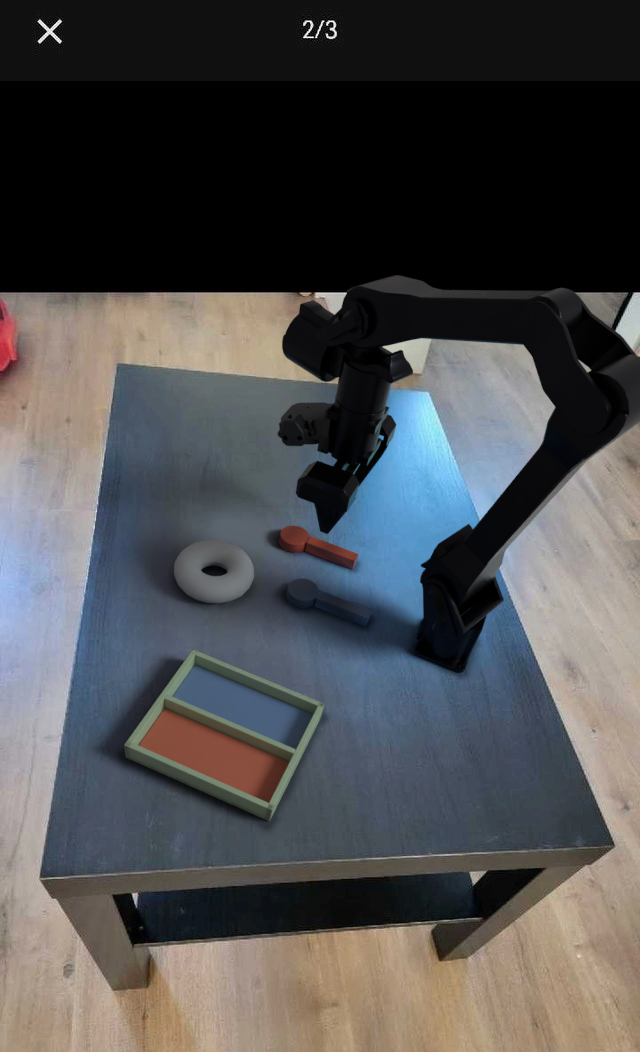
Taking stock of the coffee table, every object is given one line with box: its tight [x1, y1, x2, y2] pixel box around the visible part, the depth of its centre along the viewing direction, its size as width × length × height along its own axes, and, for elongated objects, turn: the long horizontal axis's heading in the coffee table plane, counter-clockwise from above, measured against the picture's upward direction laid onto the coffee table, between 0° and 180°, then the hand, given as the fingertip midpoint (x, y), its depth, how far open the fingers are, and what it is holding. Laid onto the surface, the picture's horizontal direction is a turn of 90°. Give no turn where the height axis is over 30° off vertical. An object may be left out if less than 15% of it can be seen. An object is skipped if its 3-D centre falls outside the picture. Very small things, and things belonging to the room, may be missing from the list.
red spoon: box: [278, 525, 359, 570], centre depth 93 cm, size 11×4×2 cm, turn 68°
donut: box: [173, 539, 255, 604], centre depth 86 cm, size 10×4×10 cm
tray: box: [123, 649, 325, 822], centre depth 72 cm, size 16×14×2 cm
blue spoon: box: [286, 577, 372, 627], centre depth 86 cm, size 11×4×2 cm, turn 68°
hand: (337, 511), depth 87 cm, fingers open, 9 cm apart
